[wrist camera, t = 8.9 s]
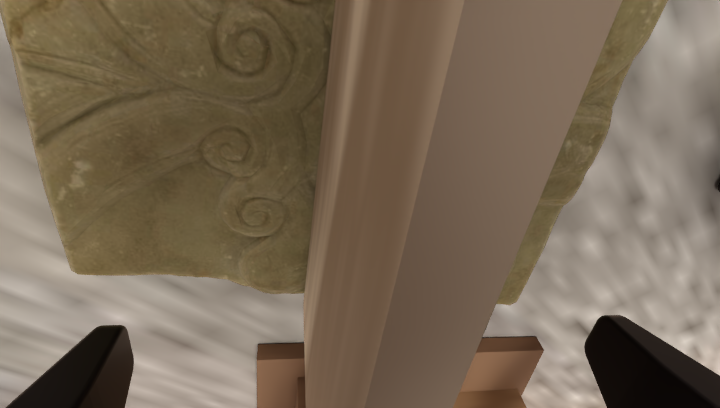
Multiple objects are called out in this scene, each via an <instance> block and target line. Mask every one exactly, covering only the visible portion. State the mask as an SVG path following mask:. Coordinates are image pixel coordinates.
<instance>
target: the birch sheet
mask: <svg viewBox="0 0 720 408" xmlns="http://www.w3.org/2000/svg"><path fill="white" fill-rule="evenodd" d="M621 3H622V0H335V8H334V18H333V27H332V37H331V46H330V56H329V65H328V75H327V84H326V94H325V103H324V112H323V122H322V131H321V141H320V150H319V160H318V169H317V179H316V188H315V198H314V207H313V217H312V226H311V236H310V245H309V255H308V264H307V274H306V283H305V293H304V302H303V306H304V352H305V398H306V408H453V406H454V404H455V401H456V399H457V396H458V394H459V392H460V389H461V387H462V384H463V382H464V380H465V377H466V375H467V372H468V370H469V368H470V365H471V363H472V360H473V358H474V356H475V353H476V351H477V348H478V346H479V344H480V341H481V339H482V336H483V334H484V332H485V329H486V327H487V324H488V322H489V320H490V317H491V315H492V312H493V310H494V308H495V305H496V303H497V300H498V298H499V296H500V293H501V291H502V288H503V286H504V284H505V281H506V279H507V276H508V274H509V272H510V269H511V267H512V264H513V262H514V260H515V257H516V255H517V252H518V250H519V248H520V245H521V243H522V240H523V238H524V235H525V233H526V231H527V228H528V226H529V223H530V221H531V219H532V216H533V214H534V211H535V209H536V207H537V204H538V202H539V199H540V197H541V195H542V192H543V190H544V187H545V185H546V183H547V180H548V178H549V175H550V173H551V171H552V168H553V166H554V163H555V161H556V159H557V156H558V154H559V151H560V149H561V147H562V144H563V142H564V139H565V137H566V135H567V132H568V130H569V127H570V125H571V123H572V120H573V118H574V115H575V113H576V111H577V108H578V106H579V103H580V101H581V99H582V96H583V94H584V91H585V89H586V87H587V84H588V82H589V79H590V77H591V75H592V72H593V70H594V67H595V65H596V63H597V60H598V58H599V55H600V53H601V51H602V48H603V46H604V43H605V41H606V39H607V36H608V34H609V31H610V29H611V27H612V24H613V22H614V19H615V17H616V15H617V12H618V10H619V7H620V5H621Z"/></svg>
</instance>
